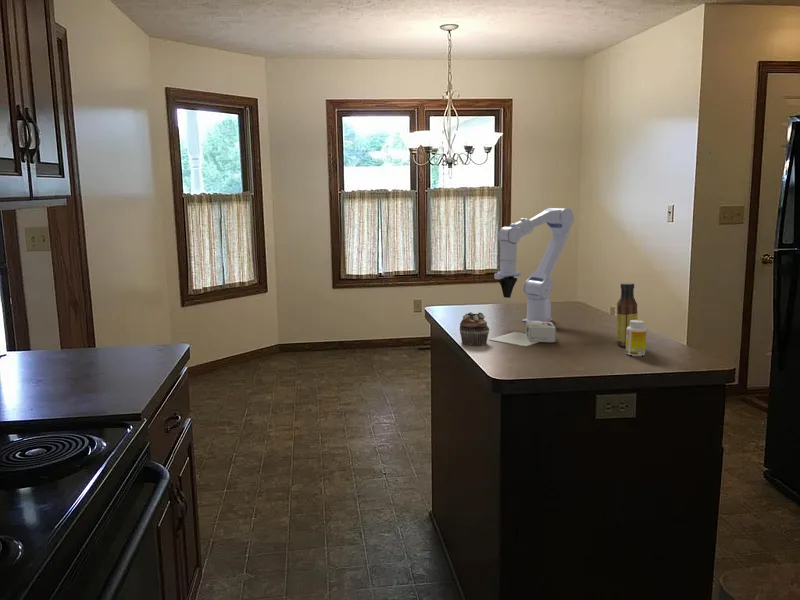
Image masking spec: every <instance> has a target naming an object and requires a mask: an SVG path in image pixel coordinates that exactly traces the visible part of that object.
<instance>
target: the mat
mask: <svg viewBox="0 0 800 600" xmlns="http://www.w3.org/2000/svg"><path fill="white" fill-rule="evenodd" d="M488 341H491V342H496V343H503V344H507V345H514V346H520V347H529V346H533V345H535V344H539V342H530V341H529V339H528V337H527V335H526V332H523V331H521V332H520V331H513V332H510V333H506V334H502V335H499V336H495V337H492V338H489V339H488Z"/></svg>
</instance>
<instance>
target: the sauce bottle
mask: <svg viewBox="0 0 800 600" xmlns="http://www.w3.org/2000/svg"><path fill="white" fill-rule="evenodd" d="M620 289H621V290H620V298H619V300H618V301H617V304H616V343H617V345H618V346H619V347H624V346H625V348H626V330H627V327H629V326H630V320H639V319H638V315H639V314H638V313H639V312H638V303H637V301H636V299H635V295H634V294H635V293H634V291H635V283H634V282H621V283H620Z"/></svg>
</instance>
